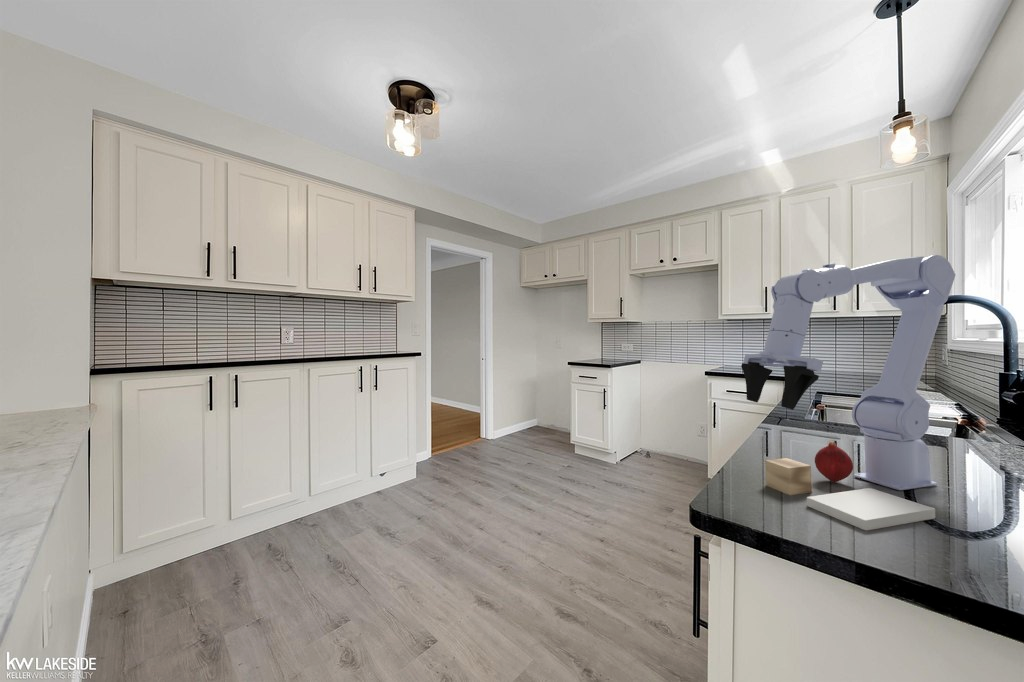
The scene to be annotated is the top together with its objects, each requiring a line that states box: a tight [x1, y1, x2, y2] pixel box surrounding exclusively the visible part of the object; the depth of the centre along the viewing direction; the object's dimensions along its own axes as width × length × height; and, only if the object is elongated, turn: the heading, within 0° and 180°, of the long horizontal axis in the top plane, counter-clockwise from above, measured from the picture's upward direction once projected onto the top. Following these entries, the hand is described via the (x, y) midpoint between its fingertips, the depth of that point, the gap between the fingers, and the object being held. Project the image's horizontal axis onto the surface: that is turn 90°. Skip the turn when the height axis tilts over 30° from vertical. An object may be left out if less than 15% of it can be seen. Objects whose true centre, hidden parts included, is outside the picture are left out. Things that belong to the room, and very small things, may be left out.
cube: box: [764, 457, 813, 496], centre depth 73 cm, size 5×5×5 cm
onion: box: [814, 440, 854, 483], centre depth 76 cm, size 6×6×8 cm
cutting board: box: [806, 487, 936, 531], centre depth 63 cm, size 14×9×2 cm, turn 102°
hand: (768, 404), depth 72 cm, fingers open, 7 cm apart
